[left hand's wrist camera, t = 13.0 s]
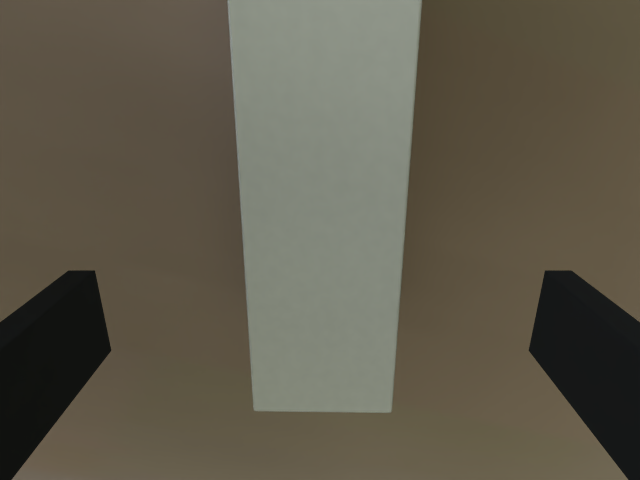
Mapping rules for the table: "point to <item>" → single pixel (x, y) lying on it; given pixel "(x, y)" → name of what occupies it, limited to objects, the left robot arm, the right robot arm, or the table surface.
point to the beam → (323, 194)
